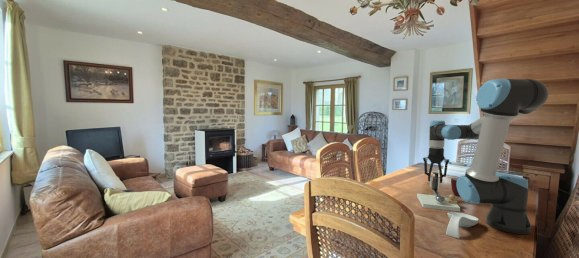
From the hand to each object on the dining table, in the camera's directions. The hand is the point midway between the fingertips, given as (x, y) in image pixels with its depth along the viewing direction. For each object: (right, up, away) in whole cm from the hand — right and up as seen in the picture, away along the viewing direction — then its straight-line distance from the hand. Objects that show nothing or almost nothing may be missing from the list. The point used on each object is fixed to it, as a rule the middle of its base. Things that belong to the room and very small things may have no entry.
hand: (434, 187), depth 147 cm
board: (-2, -7, -6) cm, 10 cm away
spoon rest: (-10, -10, -36) cm, 39 cm away
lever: (-2, -3, -6) cm, 8 cm away
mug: (+20, -7, +7) cm, 22 cm away
